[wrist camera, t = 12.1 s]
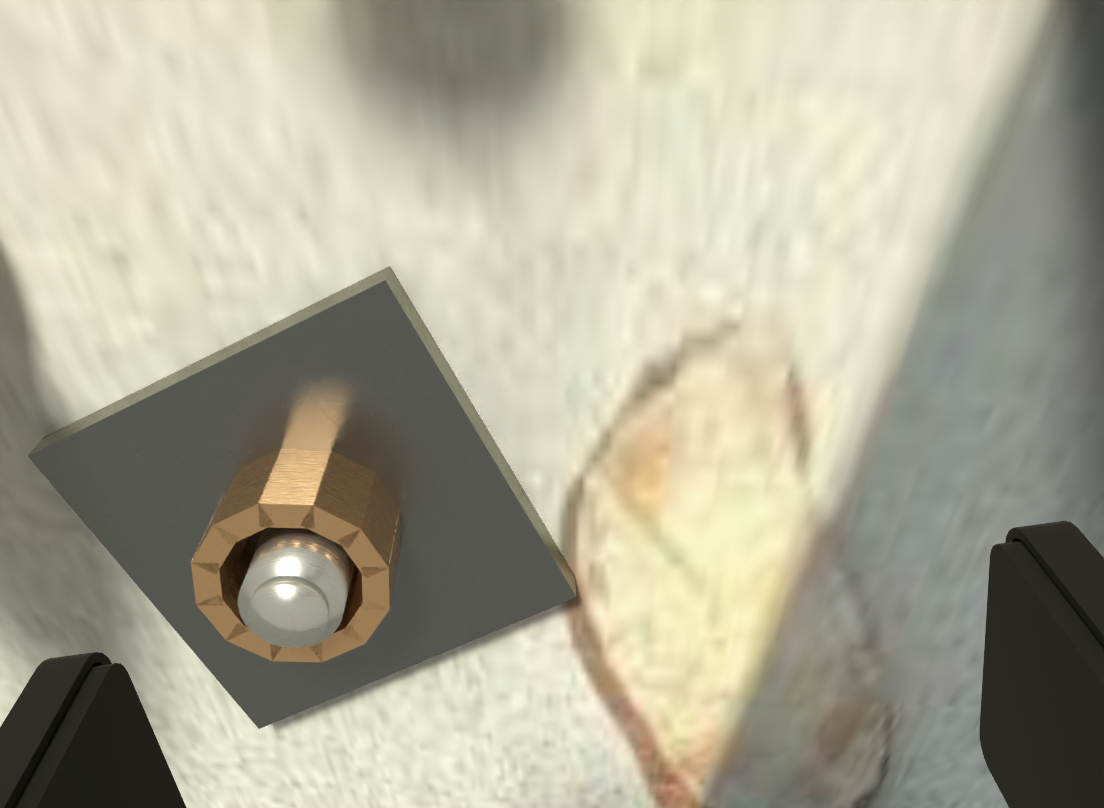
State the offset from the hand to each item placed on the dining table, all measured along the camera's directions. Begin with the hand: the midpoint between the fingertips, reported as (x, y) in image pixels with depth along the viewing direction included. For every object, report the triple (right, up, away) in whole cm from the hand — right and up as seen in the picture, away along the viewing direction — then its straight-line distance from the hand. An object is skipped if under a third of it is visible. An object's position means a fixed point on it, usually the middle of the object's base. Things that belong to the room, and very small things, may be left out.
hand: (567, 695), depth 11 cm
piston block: (-10, -1, +32) cm, 34 cm away
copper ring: (-10, -2, +31) cm, 32 cm away
